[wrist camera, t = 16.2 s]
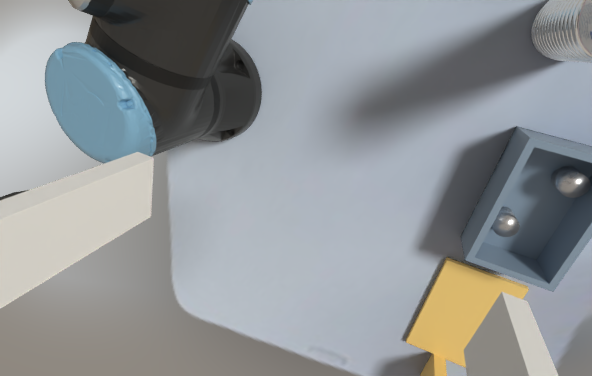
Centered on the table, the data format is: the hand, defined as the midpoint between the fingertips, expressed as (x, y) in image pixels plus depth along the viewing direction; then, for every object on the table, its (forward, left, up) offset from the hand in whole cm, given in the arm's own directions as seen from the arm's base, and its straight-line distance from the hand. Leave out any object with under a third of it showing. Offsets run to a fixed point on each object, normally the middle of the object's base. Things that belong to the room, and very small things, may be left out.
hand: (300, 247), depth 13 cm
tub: (+20, -6, -37) cm, 42 cm away
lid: (+20, -29, -37) cm, 51 cm away
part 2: (+22, -2, -36) cm, 42 cm away
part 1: (+18, -9, -36) cm, 41 cm away
